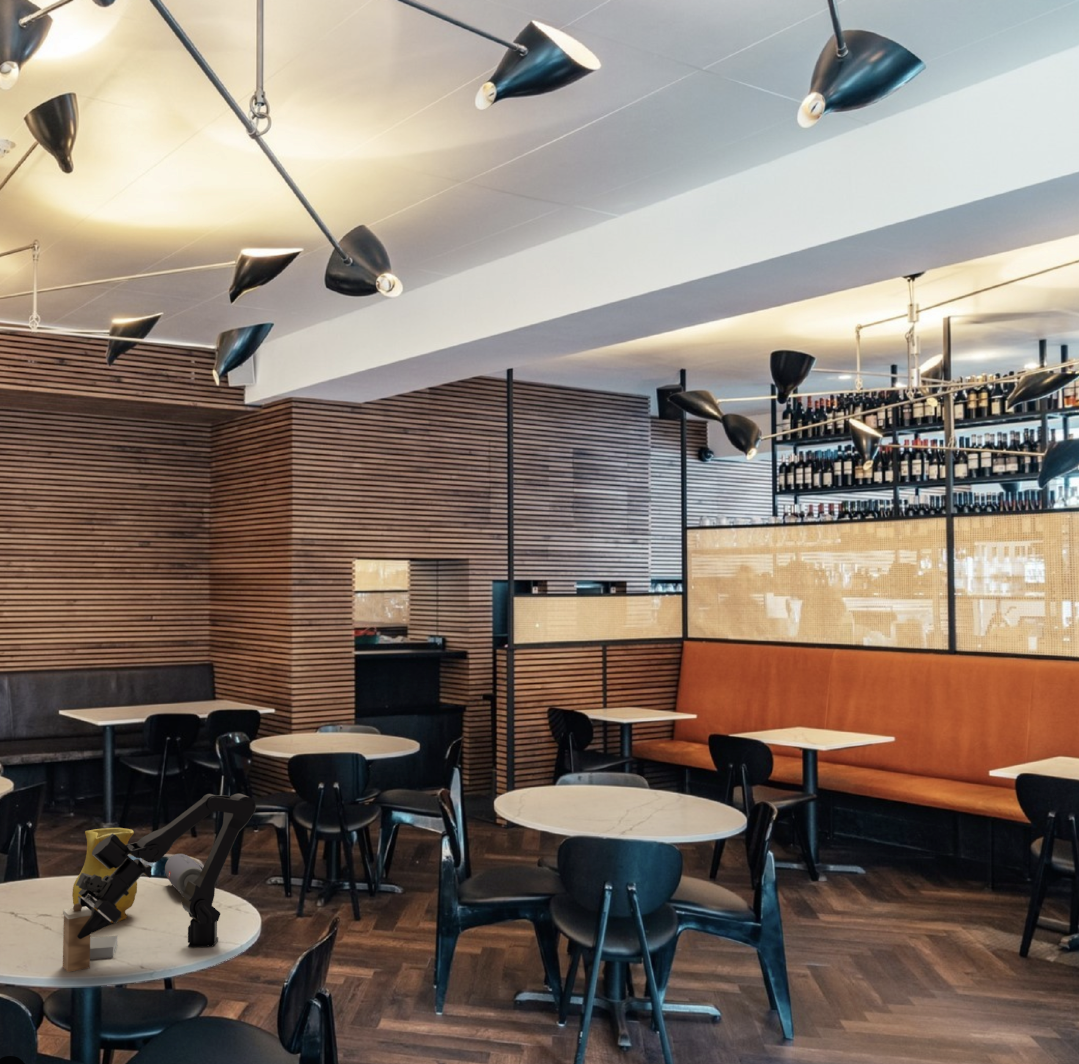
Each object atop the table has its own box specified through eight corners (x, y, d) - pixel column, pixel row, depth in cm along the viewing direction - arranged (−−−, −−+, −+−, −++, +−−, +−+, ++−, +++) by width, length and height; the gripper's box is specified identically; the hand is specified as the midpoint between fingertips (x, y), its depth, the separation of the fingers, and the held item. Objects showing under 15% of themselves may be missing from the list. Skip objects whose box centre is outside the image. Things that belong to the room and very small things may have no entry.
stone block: (117, 947, 285) (117, 935, 285) (112, 959, 275) (113, 946, 275) (75, 950, 282) (76, 938, 282) (69, 962, 273) (70, 950, 273)
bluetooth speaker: (162, 885, 346) (162, 853, 347) (192, 882, 351) (193, 850, 351) (175, 902, 326) (176, 868, 327) (207, 898, 331) (208, 864, 331)
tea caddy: (84, 962, 272) (86, 899, 273) (90, 967, 267) (92, 903, 268) (61, 966, 268) (63, 902, 269) (67, 972, 264) (68, 907, 265)
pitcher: (55, 921, 305) (63, 830, 308) (109, 908, 322) (116, 822, 324) (98, 931, 297) (106, 838, 300) (151, 918, 314) (158, 829, 316)
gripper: (88, 853, 280) (40, 904, 272) (109, 867, 265) (58, 922, 257) (119, 880, 284) (72, 931, 276) (141, 895, 269) (92, 950, 262)
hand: (73, 933), depth 268 cm, fingers open, 9 cm apart
